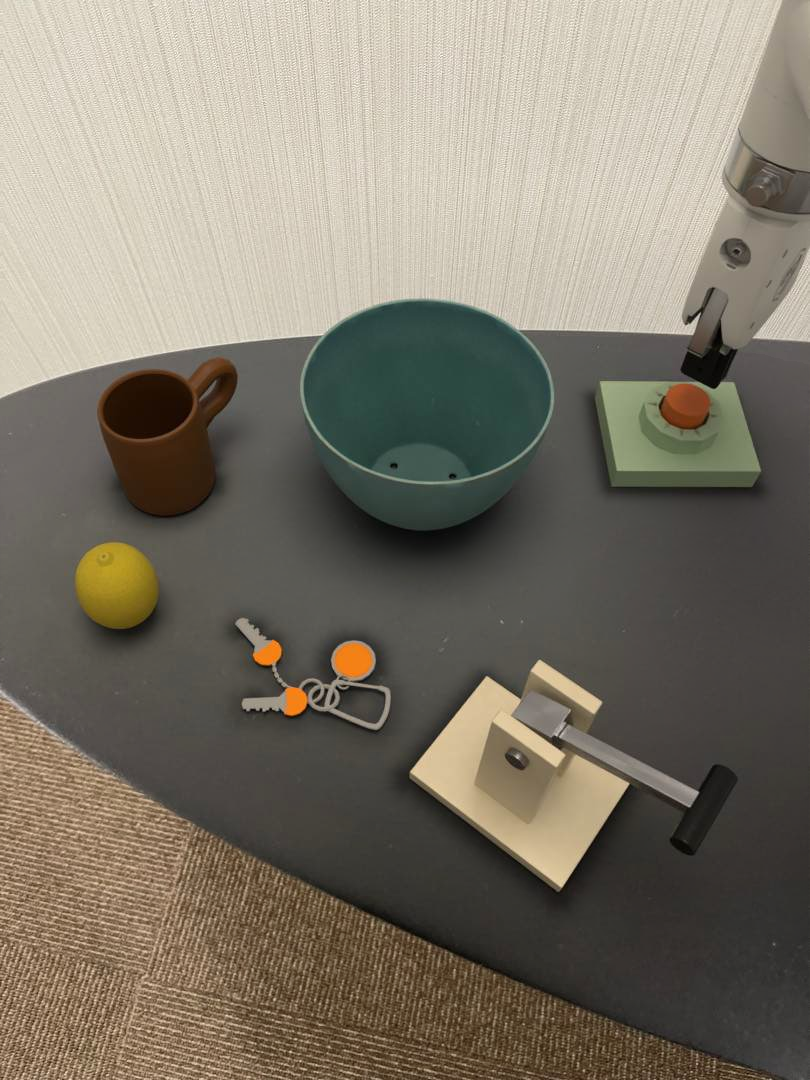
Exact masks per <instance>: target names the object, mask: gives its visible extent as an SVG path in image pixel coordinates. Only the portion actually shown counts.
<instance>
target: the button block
mask: <svg viewBox="0 0 810 1080" xmlns="http://www.w3.org/2000/svg"><path fill="white" fill-rule="evenodd" d="M682 383H686V384H692V385H695V386H698V387H700V388H701V389H703V390H704V391H705V392H706V393H707V394H708V396H709V398H710V402H711V405H710V408H709V410H708V412H707V415H706V417H705V419H704V421H703V423H702V424H701V425H700V426H699V427H697V428H695V429H680V428H678V427H675V426H673V425H670V424H669V423H668V422H667V421H666V420H665V419H664V418H663V416H662V413H661V408H662V405H663V402H664V400H665V397H666V395H667V392H668V390H669V389H670V388H671V387H673V386H674V385H677V384H682ZM594 403H595V408H596V412H597V418H598V424H599V428H600V429H599V430H600V435H601V439H602V440H601V441H602V446H603V450H604V455H605V462H606V467H607V471H608V479H609V482H610V486H611V488H615V487H616V488H753V486H754V484H755V483H756V482H757V479H758V478H759V476H760V474H761V473H762V469H761V465H760V463H759V459H758V456H757V452H756V450H755V446H754V443H753V440H752V436H751V433H750V429H749V427H748V423H747V420H746V417H745V413H744V409H743V406H742V403H741V400H740V397H739V393H738V391H737V387H736V384H735V382H734V381H721V383H720V384H719V386H718V387H717V388H716V389H712V388H709V387H708V386H706V385H704V384H702V383H700V382H698V381H645V380H643V381H641V380H640V381H637V380H636V381H635V380H632V381H631V380H630V381H627V380H625V381H624V380H622V381H621V380H620V381H619V380H600V381H599V383H598V385H597V388H596V391H595V395H594Z"/></svg>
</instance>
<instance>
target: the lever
mask: <svg viewBox="0 0 810 1080" xmlns="http://www.w3.org/2000/svg"><path fill="white" fill-rule="evenodd" d="M511 716H512V717H513V718H515V719H516V720H518V721H519V722H520V723H522V724H523V725H525V726H526V727H528V728H529V729H530V730H532V731H533V732H535V733H536V734H537V735H539V736H540V737H542V738H543V739H545V740H546V741H547V742H549V743H550V744H552V745H553V746H554V747H556V748H557V749H559V750H560V751H561V750H562V748H565V749H566V750H568V751H570V752H572V753H574V754H576V755H578V756H579V757H581V758H583V759H585V760H587V761H589V762H591V763H592V764H594V765H596V766H598V767H600V768H602V769H604V770H605V771H607V772H609V773H611V774H613V775H615V776H617V777H618V778H620V779H622V780H624V781H626V782H628V783H630V784H629V785H631V786H633V787H635V788H637V789H638V790H640V791H643V792H644V793H646V794H649V795H651V797H654V798H656V799H657V800H659V801H661V802H663V803H665V804H667V805H668V806H671V807H672V808H674V809H676V810H677V811H680V812H681V813H683V814H682V815H681V818H680V819H679V820H678V823H677V824H676V826H675V827H674V829H673V831H672V833H671V834H670V836H669V838H668V839H669V843H670V845H671V846H672V847H674V849H676V850H677V851H679V852H680V853H682V854H683V855H686V856H690V857H692V856H694V855H696V853H697V852H698V850H699V849H700V847H701V846H702V844H703V841H704V840H705V838H706V836H707V835H708V833H709V831H710V829H711V827H712V826H713V825H714V823H715V821H716V819H717V817H718V815H719V814H720V812H721V810H722V809H723V807H724V805H725V803H726V802H727V800H728V799H729V796H730V795H731V793H732V791H733V790H734V788H735V786H736V784H737V783H738V776H737V774H736V772H734V771H733V770H732V769H731V768H729V767H727V766H726V765H723V764H719V763H716V764H713V765H712V766H711V768H710V769H709V771H708V773H707V775H706V776H705V778H704V779H703V781H702V782H701V784H700V786H699V788H698V789H697V790H696V789H694V788H693V787H690V786H689V785H688V784H685V783H683V782H681V781H680V780H677V779H675V778H673V777H671V776H670V775H668V774H666V773H664V772H662V771H660V770H658V769H656V768H654V767H653V766H650V765H649V764H646V763H645V762H643V761H641V760H639V759H637V758H636V757H633V756H631V755H630V754H628V753H626V752H623V751H622V750H620V749H618V748H616V747H614V746H612V745H610V744H609V743H606V742H604V741H602V740H600V739H599V738H597V737H595V736H593V735H591V734H589V733H588V732H587V733H585V732H583V731H581V730H579V729H577V728H576V727H574V725H573V717H572V710H571V709H570V708H568V707H566V706H564V705H562V704H560V703H558V702H556V701H554V700H552V699H550V698H548V697H546V696H544V695H542V694H540V693H538V692H536V691H534V690H532V689H531V690H530V691H529V692H528V694H527V695H526V696H525V698H524V699H523V700H522V701H521V703H520V704H519V705H518V707H517V708H516V709H515V711H514V712H513V713H512V715H511Z"/></svg>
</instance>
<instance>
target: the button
mask: <svg viewBox="0 0 810 1080" xmlns="http://www.w3.org/2000/svg"><path fill="white" fill-rule="evenodd" d="M710 405H711V402H710V398H709V396H708V394H707V393H706V392H705V391H704V390H703V389H701V388H700V387H698V386H695V385H692V384H686V383H682V384H677V385H674V386H673V387H671V388H670V389H669V390H668V392H667V395H666V397H665V400H664V402H663V405H662V408H661V413H662V416H663V418H664V419H665V420H666V421H667V422H668V423H669V424H670V425H673V426H675V427H678V428H680V429H695V428H697V427H699V426H700V425H701V424H702V423H703V421H704V419H705V417H706V415H707V412H708V410H709V408H710Z"/></svg>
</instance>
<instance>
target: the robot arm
mask: <svg viewBox="0 0 810 1080" xmlns="http://www.w3.org/2000/svg"><path fill="white" fill-rule="evenodd" d="M759 63H760V64H759V66H758V69H757V72H756V75H755V77H754V80H753V84H752V87H751V89H750V92H749V94H748V97H747V100H746V103H745V106H744V109H743V112H742V114H741V118H740V121H739V123H738V126H737V129H736V132H735V134H734V137H733V140H732V143H731V146H730V149H729V152H728V155H727V157H726V161H725V162H724V163H725V164H724V166H723V168H722V172H721V180H722V181H721V182H722V185H723V187H724V189H725V190H726V192H727V194H728V196H727V198H726V200H725V202H724V205H723V207H722V208H721V211H720V213H719V215H718V218H717V220H716V221H715V222H714V228H713V230H712V232H711V234H710V237H709V239H708V242H707V244H706V246H705V249H704V252H703V253H702V256H701V258H700V261H699V264H698V266H697V269H696V272H695V274H694V277H693V279H692V281H691V283H690V287H689V289H688V293H687V296H686V298H685V302H684V305H683V308H682V311H681V319H682V322H683V325H684V326H688V325H692V323H693V322H694V321H695V319H696V318H697V317H698V319H697V323H696V326H695V329H694V332H693V334H692V336H691V338H690V341H689V343H688V344H687V347H686V353H685V357H684V358H683V361H682V364H681V366H680V368H679V369H680V370H679V371H680V372H681V374H683V375H684V376H685V377H688V378H691V379H692V380H694V381H695V382H700V383H702V384H704V385H706V386H708V387H709V388H712V389H716V388H717V387H718V386H719V384H720V383H721V382H724V379H726V377H727V376H728V373H729V371H730V369H731V366H732V364H733V363H734V360H735V357H736V356H737V353H738V351H739V349H742V348H743V347H746V346H747V345H748V344H749V343H750V342H751V341H752V339H753V338H754V337H755V336H756V335H757V333H759V331H760V330H761V329H762V327H764V325H765V324H766V322H767V321H768V320H769V319H770V318H771V317H772V315H773V314H774V313H775V312H776V310H777V309H778V308H779V306H780V305H781V304H782V302H783V301H784V300H785V299H786V297H788V294H789V293H790V292H791V290H792V288H793V287H794V285H795V283H796V281H797V278H798V276H799V274H800V272H801V270H802V266H803V265H804V263H805V260H806V258H807V255H808V253H809V250H810V0H782V1H781V5H780V7H779V10H778V12H777V14H776V19H775V21H774V24H773V27H772V30H771V32H770V35H769V38H768V41H767V44H766V46H765V49H764V52H763V54H762V58H761V61H760V62H759Z"/></svg>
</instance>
